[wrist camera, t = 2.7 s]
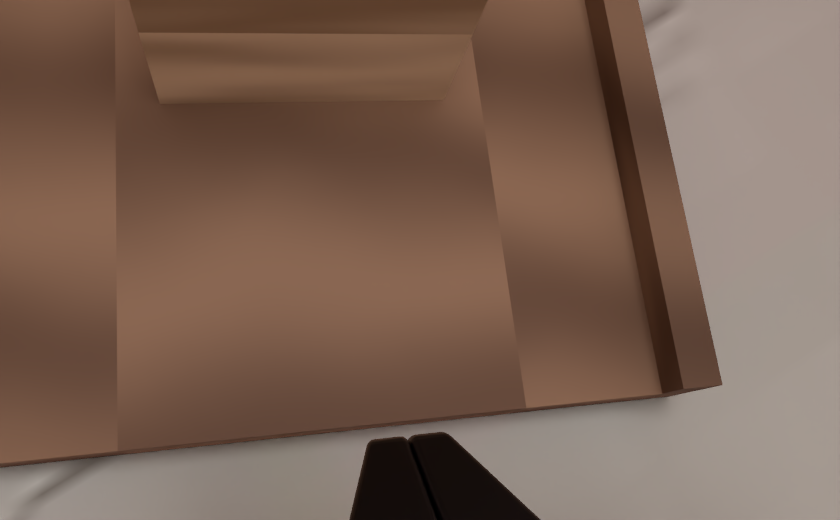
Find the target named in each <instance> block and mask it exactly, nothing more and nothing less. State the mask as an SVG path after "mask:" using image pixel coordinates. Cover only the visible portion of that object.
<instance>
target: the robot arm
mask: <svg viewBox="0 0 840 520" xmlns="http://www.w3.org/2000/svg"><path fill="white" fill-rule="evenodd" d="M350 520H540V519H539V518H538V517H537V516H536V515H535V514H534V513H533V512H532V511H530V510H529V509H528V508H527V507H526V506H525V505H524V504H523V503H522V502H521V501H520V500H519V499H518V498H517V497H515V496H514V495H513V494H512V493H511V492H510V491H509V490H508V489H507V488H506V487H505V486H504V485H503V484H502V483H501V482H499V481H498V480H497V479H496V478H495V477H494V476H493V475H492V474H491V473H490V472H489V471H488V470H487V469H486V468H484V467H483V466H482V465H481V464H480V463H479V462H478V461H477V460H476V459H475V458H474V457H473V456H472V455H471V454H469V453H468V452H467V451H466V450H465V449H464V448H463V447H462V446H461V445H460V444H459V443H458V442H457V441H456V440H454V439H453V438H452V437H451V436H450V435H449V434H447V433H444V432H437V433H428V434H419V435H413V436H411V437H410V438H409V439H408V440H407V439H406V438H404V437H392V438H383V439H374V440H371V441H370V442H369V443H368V445H367V448H366V452H365V456H364V460H363V465H362V469H361V473H360V477H359V482H358V486H357V490H356V494H355V498H354V503H353V507H352V511H351V515H350Z"/></svg>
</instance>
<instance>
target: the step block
mask: <svg viewBox="0 0 840 520" xmlns="http://www.w3.org/2000/svg"><path fill="white" fill-rule="evenodd" d="M487 1H488V0H129V3H130V6H131V9H132V13H133V16H134V19H135V23H136V26H137V29H138V33H139V36H140V39H141V43H142V46H143V49H144V53H145V56H146V59H147V63H148V66H149V69H150V73H151V76H152V79H153V83H154V86H155V89H156V93H157V96H158V99H159V103H160V104H183V103H259V102H335V101H410V100H444V98H445V95H446V93H447V91H448V89H449V86H450V84H451V82H452V80H453V77H454V75H455V73H456V71H457V68H458V66H459V64H460V62H461V59H462V57H463V55H464V53H465V50H466V48H467V46H468V44H469V41H470V39H471V37H472V35H473V32H474V30H475V28H476V26H477V23H478V21H479V19H480V17H481V14H482V12H483V10H484V8H485V5H486V3H487Z"/></svg>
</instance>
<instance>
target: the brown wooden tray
mask: <svg viewBox="0 0 840 520" xmlns="http://www.w3.org/2000/svg"><path fill="white" fill-rule="evenodd" d="M720 385H722V381H721V376H720V372H719V367H718V363H717V358H716V354H715V349H714V345H713V340H712V335H711V331H710V326H709V322H708V317H707V313H706V308H705V304H704V299H703V294H702V290H701V285H700V281H699V276H698V272H697V267H696V263H695V258H694V254H693V249H692V244H691V240H690V235H689V231H688V226H687V222H686V217H685V213H684V208H683V203H682V199H681V194H680V190H679V185H678V181H677V176H676V172H675V167H674V162H673V158H672V153H671V149H670V144H669V140H668V135H667V131H666V126H665V121H664V117H663V112H662V108H661V103H660V99H659V94H658V90H657V85H656V80H655V76H654V71H653V67H652V62H651V58H650V53H649V49H648V44H647V40H646V35H645V30H644V26H643V21H642V17H641V12H640V8H639V3H638V0H488V1H487V3H486V5H485V8H484V10H483V12H482V14H481V17H480V19H479V21H478V23H477V26H476V28H475V30H474V32H473V35H472V37H471V39H470V41H469V44H468V46H467V48H466V50H465V53H464V55H463V57H462V59H461V62H460V64H459V66H458V68H457V71H456V73H455V75H454V77H453V80H452V82H451V84H450V86H449V89H448V91H447V93H446V95H445V98H444V100H410V101H335V102H259V103H183V104H160V103H159V99H158V96H157V93H156V89H155V86H154V83H153V79H152V76H151V73H150V69H149V66H148V63H147V59H146V56H145V53H144V49H143V46H142V43H141V39H140V36H139V33H138V29H137V26H136V23H135V19H134V16H133V13H132V9H131V6H130V3H129V0H0V467H9V466H19V465H28V464H37V463H47V462H56V461H66V460H75V459H84V458H94V457H103V456H113V455H122V454H132V453H141V452H150V451H160V450H169V449H179V448H188V447H197V446H207V445H216V444H226V443H235V442H245V441H254V440H263V439H273V438H282V437H292V436H301V435H310V434H320V433H329V432H339V431H348V430H357V429H367V428H376V427H386V426H395V425H405V424H414V423H423V422H433V421H442V420H452V419H461V418H470V417H480V416H489V415H499V414H508V413H518V412H527V411H536V410H546V409H555V408H565V407H574V406H583V405H593V404H602V403H612V402H621V401H630V400H640V399H649V398H659V397H668V396H673V395H678V394H682V393H687V392H692V391H696V390H701V389H706V388H710V387H715V386H720Z"/></svg>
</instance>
